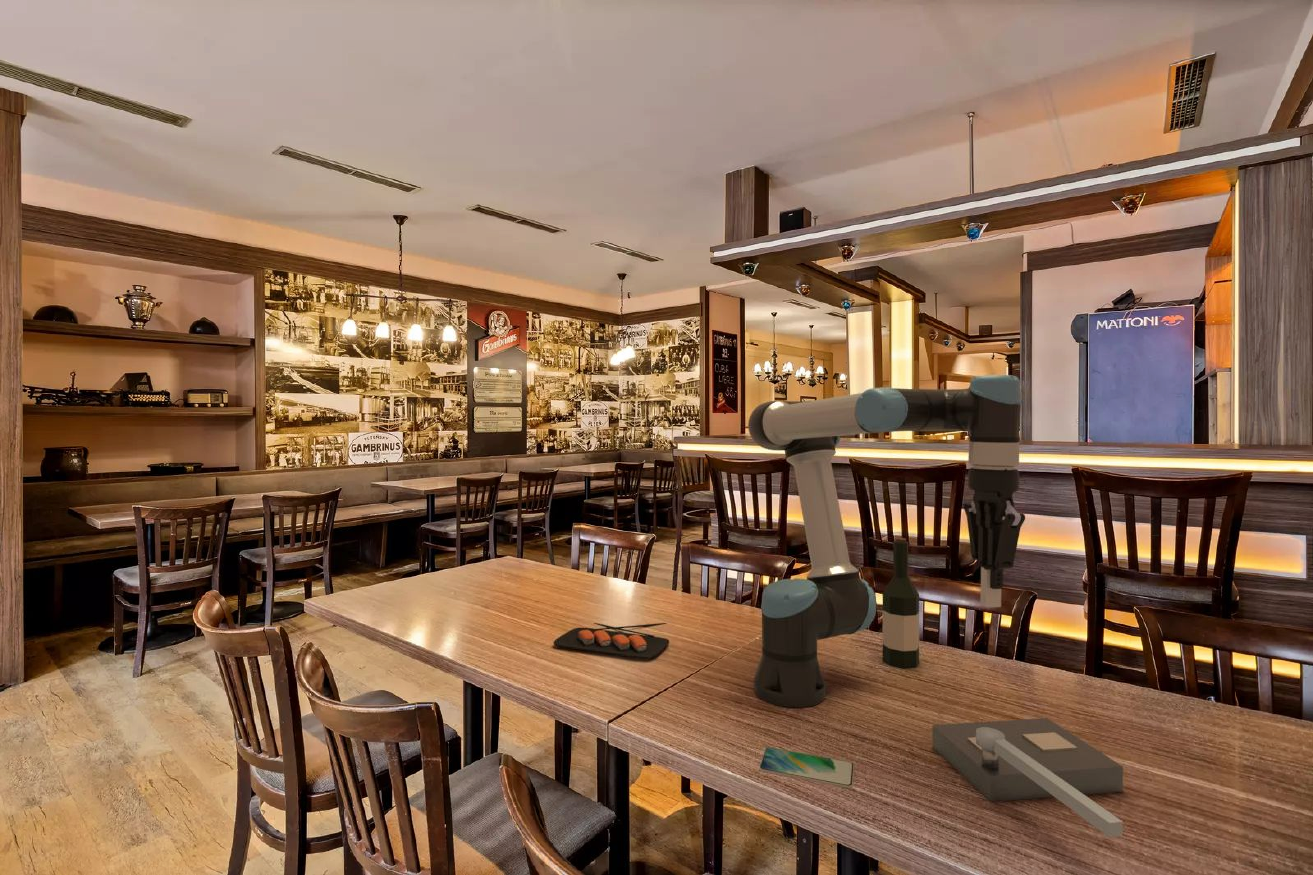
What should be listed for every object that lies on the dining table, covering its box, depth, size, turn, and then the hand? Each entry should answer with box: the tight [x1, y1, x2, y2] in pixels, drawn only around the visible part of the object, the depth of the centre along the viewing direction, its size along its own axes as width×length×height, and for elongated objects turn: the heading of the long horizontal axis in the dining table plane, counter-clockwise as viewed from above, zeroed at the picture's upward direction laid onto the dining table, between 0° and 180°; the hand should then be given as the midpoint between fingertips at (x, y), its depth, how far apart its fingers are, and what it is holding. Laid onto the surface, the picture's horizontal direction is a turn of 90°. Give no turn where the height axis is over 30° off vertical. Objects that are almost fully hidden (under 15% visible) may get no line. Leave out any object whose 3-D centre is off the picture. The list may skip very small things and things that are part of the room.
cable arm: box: [976, 727, 1124, 839], centre depth 87 cm, size 24×4×2 cm, turn 9°
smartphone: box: [758, 747, 855, 789], centre depth 103 cm, size 7×1×15 cm
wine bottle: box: [882, 537, 920, 670], centre depth 148 cm, size 8×8×30 cm
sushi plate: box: [553, 622, 670, 659], centre depth 168 cm, size 29×30×4 cm
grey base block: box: [932, 717, 1124, 803], centre depth 103 cm, size 22×16×7 cm
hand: (990, 605), depth 104 cm, fingers closed
